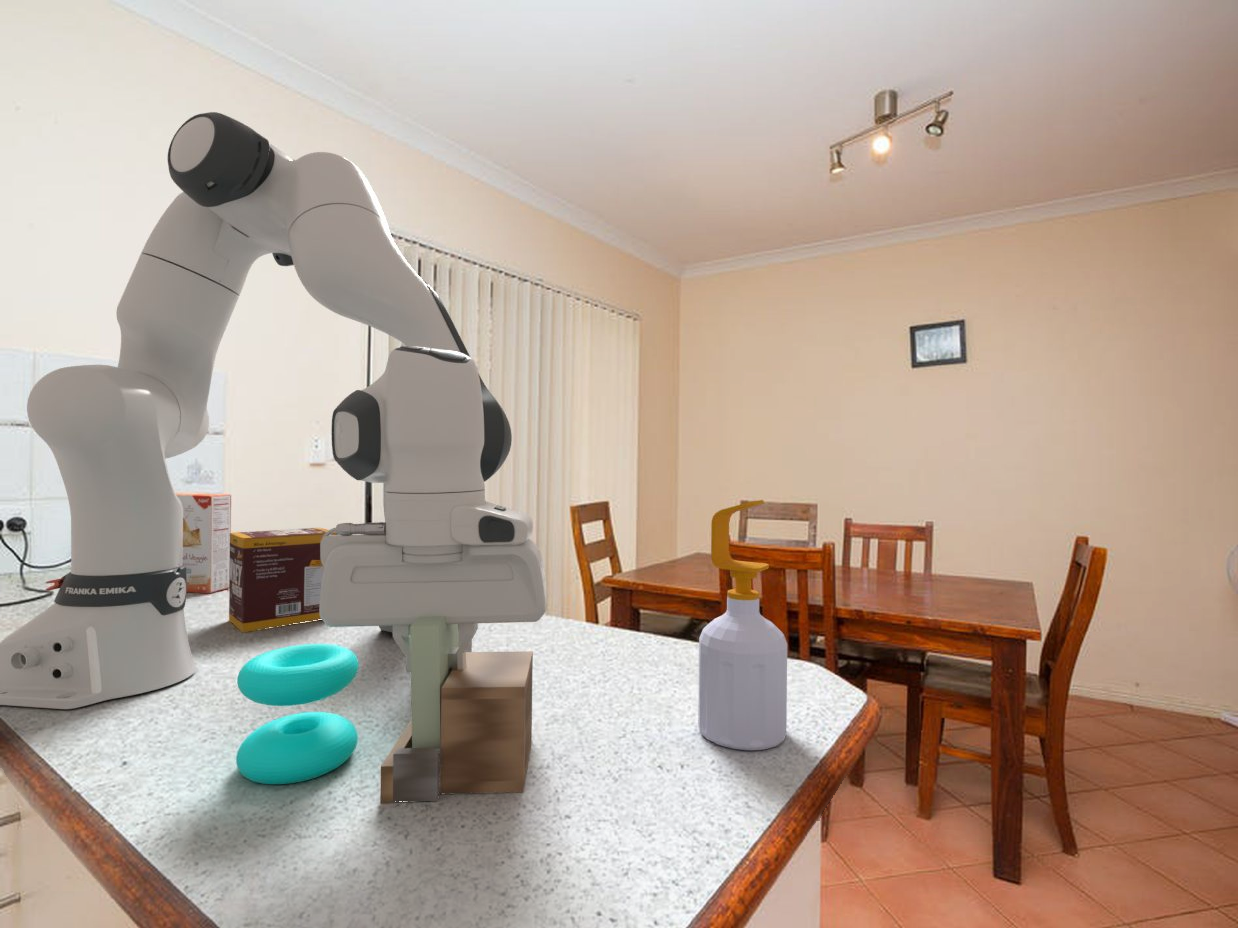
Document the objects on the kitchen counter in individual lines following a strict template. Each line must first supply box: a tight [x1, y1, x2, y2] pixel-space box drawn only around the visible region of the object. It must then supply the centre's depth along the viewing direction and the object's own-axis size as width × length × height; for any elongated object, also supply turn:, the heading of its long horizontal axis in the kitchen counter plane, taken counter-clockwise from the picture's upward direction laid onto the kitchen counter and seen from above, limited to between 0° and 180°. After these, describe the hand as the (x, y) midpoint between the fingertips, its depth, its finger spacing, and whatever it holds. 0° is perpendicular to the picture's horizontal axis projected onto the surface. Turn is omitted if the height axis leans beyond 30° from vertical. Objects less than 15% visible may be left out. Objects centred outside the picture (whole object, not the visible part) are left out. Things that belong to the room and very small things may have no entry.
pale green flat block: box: [410, 616, 459, 752], centre depth 57 cm, size 3×9×11 cm, turn 4°
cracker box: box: [175, 492, 232, 594], centre depth 133 cm, size 14×6×21 cm, turn 81°
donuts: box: [235, 643, 359, 785], centre depth 57 cm, size 10×10×10 cm
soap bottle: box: [697, 499, 788, 752], centre depth 65 cm, size 9×9×25 cm
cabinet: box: [379, 650, 534, 804], centre depth 57 cm, size 12×12×9 cm
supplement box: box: [228, 527, 338, 633], centre depth 109 cm, size 10×15×16 cm
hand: (438, 669), depth 57 cm, fingers closed on pale green flat block, 2 cm apart
